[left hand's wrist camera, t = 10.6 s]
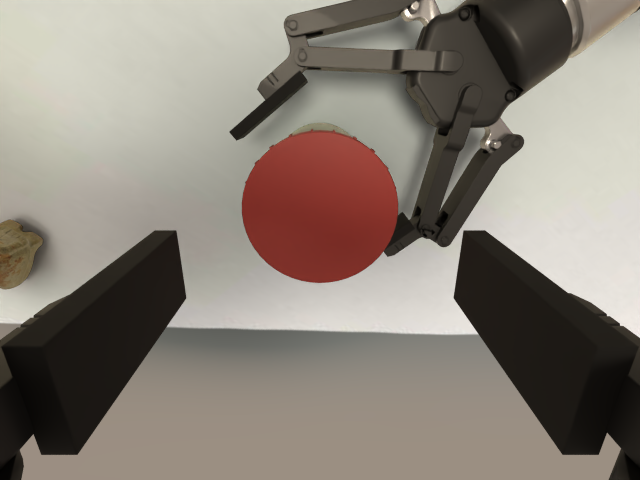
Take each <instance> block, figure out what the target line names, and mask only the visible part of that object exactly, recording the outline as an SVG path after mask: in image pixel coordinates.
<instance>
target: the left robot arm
mask: <svg viewBox="0 0 640 480" xmlns="http://www.w3.org/2000/svg"><path fill="white" fill-rule="evenodd" d="M185 299H186V292H185V286H184V279H183V272H182V265H181V259H180V252H179V245H178V238H177V232H176V231H154V232H152V233H151V234H150V235H148V236H147V237H146V238H144V239H143V240H142V241H140V242H139V243H138V244H136V245H135V246H134V247H133V248H131V249H130V250H129V251H127V252H126V253H125V254H123V255H122V256H121V257H119V258H118V259H117V260H115V261H114V262H113V263H111V264H110V265H109V266H107V267H106V268H105V269H103V270H102V271H101V272H99V273H98V274H97V275H95V276H94V277H93V278H91V279H90V280H89V281H87V282H86V283H85V284H83V285H82V286H81V287H79V288H78V289H77V290H76V291H74V292H73V293H72V294H70V295H68V296H66V297H64V298H61V299H59V300H57V301H55V302H53V303H51V304H49V305H47V306H46V307H45V308H43V309H42V310H41V311H39V312H38V313H37V314H35V315H34V318H30V319H28V320H27V321H26V322H24V323H23V324H21V327H20V328H16V329H15V330H13V331H12V332H11V333H9V334H8V335H6V336H5V337H4V338H2V339H1V340H0V480H21V478H22V473H23V467H24V465H23V458H22V455H21V453H20V449H21V447H22V446H23V445H24V444H25V443H26V442H27V441H28V439H29V438H30V437H31V436H32V435H33V434H34V436H35V439H36V442H37V444H38V447H39V450H40V452H41V455H77V454H78V453H79V452H80V450H81V449H82V447H83V446H84V444H85V443H86V442H87V440H88V439H89V437H90V436H91V434H92V433H93V432H94V430H95V429H96V427H97V426H98V424H99V423H100V421H101V420H102V419H103V417H104V416H105V414H106V413H107V411H108V410H109V409H110V407H111V406H112V404H113V403H114V401H115V400H116V398H117V397H118V396H119V394H120V393H121V391H122V390H123V388H124V387H125V386H126V384H127V383H128V381H129V380H130V378H131V377H132V375H133V374H134V373H135V371H136V370H137V368H138V367H139V365H140V364H141V363H142V361H143V360H144V358H145V357H146V355H147V354H148V352H149V351H150V350H151V348H152V347H153V345H154V344H155V342H156V341H157V340H158V338H159V337H160V335H161V334H162V332H163V331H164V330H165V328H166V327H167V325H168V324H169V322H170V321H171V319H172V318H173V317H174V315H175V314H176V312H177V311H178V309H179V308H180V307H181V305H182V304H183V302H184V301H185ZM454 299H455V301H456V302H457V304H458V305H459V307H460V308H461V309H462V311H463V312H464V314H465V315H466V317H467V318H468V319H469V321H470V322H471V324H472V325H473V327H474V328H475V330H476V331H477V332H478V334H479V335H480V337H481V338H482V340H483V341H484V342H485V344H486V345H487V347H488V348H489V350H490V351H491V352H492V354H493V355H494V357H495V358H496V360H497V361H498V363H499V364H500V365H501V367H502V368H503V370H504V371H505V373H506V374H507V375H508V377H509V378H510V380H511V381H512V383H513V384H514V385H515V387H516V388H517V390H518V391H519V393H520V394H521V396H522V397H523V398H524V400H525V401H526V403H527V404H528V406H529V407H530V409H531V410H532V411H533V413H534V414H535V416H536V417H537V419H538V420H539V421H540V423H541V424H542V426H543V427H544V429H545V430H546V431H547V433H548V434H549V436H550V437H551V439H552V440H553V441H554V443H555V444H556V446H557V447H558V449H559V450H560V452H561V453H562V454H563V455H599V452H600V450H601V447H602V444H603V442H604V439H605V436H606V434H607V433H608V434H609V435H610V436H611V437H612V438H613V440H614V441H615V442H616V443H617V444H618V445H619V446H620V448H621V450H620V453H619V455H618V458H617V460H616V463H615V466H614V468H613V470H612V473H611V475H610V478H609V480H640V338H639V337H638V336H636V335H635V334H633V333H632V332H631V331H629V330H628V329H627V328H625V327H624V326H620V323H618V322H617V321H616V320H614V319H613V318H611V317H610V316H607V314H606V313H604V312H603V311H602V310H600V309H599V308H598V307H596V306H595V305H593V304H592V303H590V302H588V301H586V300H584V299H582V298H580V297H578V296H575V295H573V294H571V293H567V292H566V291H564V290H563V289H562V288H561V287H559V286H558V285H557V284H555V283H554V282H553V281H551V280H550V279H549V278H547V277H546V276H545V275H543V274H542V273H541V272H539V271H538V270H537V269H535V268H534V267H533V266H531V265H530V264H529V263H527V262H526V261H525V260H523V259H522V258H521V257H519V256H518V255H517V254H515V253H514V252H513V251H511V250H510V249H509V248H507V247H506V246H505V245H503V244H502V243H501V242H500V241H498V240H497V239H496V238H494V237H493V236H492V235H490V234H489V233H488V232H486V231H464V232H463V238H462V245H461V252H460V259H459V265H458V272H457V279H456V286H455V292H454Z"/></svg>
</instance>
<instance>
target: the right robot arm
mask: <svg viewBox="0 0 640 480" xmlns="http://www.w3.org/2000/svg"><path fill="white" fill-rule="evenodd" d="M639 9H640V0H466V1H464V2H463V3H462V4H461V5H460V6H458V7H457V8H456V9H455V10H453V11H452V12H449V13H446V14H441V13H440V11H439V9H438V6H437V4H436V2H435V0H352V1H348V2H343V3H339V4H335V5H331V6H326V7H322V8H318V9H314V10H310V11H305V12H301V13H297V14H293V15H290V16H288V17H287V18H286V19H285V21H284V29H285V32H286V35H287V38H288V41H289V44H290V54H289V56H288V58H287V59H286V60H285V61H284V62H283V63H282V64H280V65H279V66H278V67H277V68H276V69H275V70H274V71H273V72H272V73H270V74H269V75H268V76H267V77H266V78H265V79H264V80H263V81H261V83H260V85H259V87H258V89H257V90H258V91H259V92H260V94H261V95H262V96H263V97H264V99H265V101H264V102H263V103H262V104H261V105H259V106H258V107H257V108H256V109H255V110H254V111H253V112H251V113H250V114H249V115H248V116H247V117H246V118H245V119H243V120H242V121H241V122H240V123H239V124H238V125H237V126H235V127H234V128H233V129H232V130H231V131H230V133H231V135H232V136H233V137H234V138H235V139H236V140H239V139H241V138H244V137H245V136H246V135H247V134H248V133H250V132H251V131H252V130H253V129H254V128H255V127H257V126H258V125H259V124H260V123H261V122H262V121H264V120H265V119H266V118H267V117H268V116H269V115H270V114H272V113H273V112H274V111H275V110H276V109H277V108H279V107H280V106H281V105H282V104H283V103H284V102H286V101H287V100H288V99H289V98H290V97H291V96H293V95H294V94H295V93H296V92H297V91H298V90H300V89H301V88H302V87H303V86H304V85H305V84H306V83H308V81H307V79H306V78H305V77H304V75H303V74H302V73H303V72H304V71H305V70H325V71H349V72H372V73H388V74H404V75H407V76H406V85H407V88H406V90H407V92H408V94H409V95H410V97H411V98H412V99H413V100H414V101H416V102H417V103H418V104H419V106H420V109H421V112H422V115H423V117H424V118H425V120H426V121H427V123H430V124H431V125H433V126H435V127H437V129H436V133H435V136H434V140H433V144H434V145H433V149H432V152H431V156H430V159H429V162H428V165H427V169H426V172H425V175H424V178H423V181H422V185H421V188H420V191H419V194H418V198H417V201H416V204H415V207H414V211H413V214H412V217H411V219H410V220H408V218H407V217H406V216H405V214H404V213H403V212H402V213H400V214H399V215H398V216H397V223H396V226H395V230H394V233H393V235H392V237H391V240H390V242H389V243H388V245H387V247H386V248H385V250H384V253H385V254H386V255H387V257H389V256H392V255H395V254H396V253H398V252H399V251H401V250H402V249H404V248H405V247H407V246H408V245H409V244H411V243H412V242H414V241H415V240H417V239H418V238H421V237H423V238H426V239H431V240H433V241H434V242H436V243H437V244H438V245H439V246H441V247H447V246H449V245H450V244H451V242H452V241H453V239H454V238H455V236H456V235H457V233H458V232H459V230H460V228H461V227H462V225H463V224H464V222H465V221H466V219H467V218H468V216H469V215H470V213H471V211H472V210H473V208H474V207H475V205H476V204H477V202H478V201H479V199H480V198H481V196H482V194H483V193H484V191H485V190H486V188H487V187H488V185H489V184H490V182H491V181H492V179H493V177H494V176H495V174H496V173H497V171H498V170H499V168H500V167H501V165H502V164H504V163H505V162H506V161H507V160H508V159H509V158H511V157H512V156H513V155H514V154H515V153H516V152H518V151H519V150H520V149H521V148H522V147H523V144H524V139H523V137H522V136H521V135H516V134H513V133H512V132H511V131H510V130H509V129H508V127H507V126H506V125H505V123H504V122H503V121H502V119H501V118H500V117H501V115H502V113H503V111H504V110H505V109H506V107H507V106H508V105H509V104H510V103H512V102H513V101H515V100H516V99H518V98H519V97H520V96H522V95H523V94H524V93H526V92H527V91H529V90H530V89H531V88H533V87H534V86H535V85H537V84H538V83H539V82H541V81H542V80H544V79H545V78H546V77H548V76H549V75H550V74H552V73H553V72H554V71H556V70H557V69H559V68H560V67H561V66H563V65H564V63H565V62H566V61H567V59H568V58H573V57H575V56H576V55H578V54H580V53H581V52H582V51H584V50H585V49H586V48H588V47H589V46H590V45H592V44H593V43H594V42H596V41H597V40H598V39H600V38H601V37H602V36H604V35H605V34H606V33H608V32H609V31H610V30H612V29H613V28H614V27H616V26H617V25H618V24H620V23H621V22H622V21H624V20H625V19H626V18H628V17H629V16H630V15H632V14H633V13H635V12H636V11H638V10H639ZM399 15H401V17H402V18H403V20H405V21H407V22H411V21H414V20H418V21H421V22H422V23H423V25H424V27H423V29H422V31H421V34H420V36H419V39H418V42H417V45H416V48H415V50H377V49H354V48H331V47H309V45H308V42H307V39H311V38H315V37H320V36H324V35H328V34H333V33H337V32H341V31H346V30H350V29H354V28H359V27H363V26H367V25H371V24H376V23H380V22H384V21H388V20H391V19H393V18H396V17H398V16H399ZM481 127H484V128H485V135H484V137H483V138H482V139H481V141H480V147H481V148H480V149H479V150H478V151H477V153H476V154H475V155H474V157H473V158H472V159H471V161H470V163H469V164H468V166H467V168H466V169H465V171H464V172H463V174H462V176H461V177H460V179H459V181H458V182H457V184H456V185H455V187H454V189H453V190H452V192H451V194H450V195H449V197H448V199H447V200H446V202H445V203H444V205H443V207H442V208H441V205H442V202H443V199H444V196H445V193H446V190H447V187H448V184H449V181H450V178H451V175H452V172H453V169H454V166H455V163H456V160H457V157H458V154H459V152H460V151H461V150H462V148H463V147H464V144H465V141H466V138H467V135H468V132H469V129H470V128H481ZM440 208H441V210H440ZM439 210H440V212H439Z"/></svg>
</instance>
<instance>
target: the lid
mask: <svg viewBox="0 0 640 480" xmlns="http://www.w3.org/2000/svg"><path fill="white" fill-rule="evenodd" d="M269 148H270V150H269V151H268V152H266V153H265V154H264V155H263V156H262V157H261V158H260V160H258V161H257V162H256V163H255V166H254V168H253V170H252V171H251V173H250V175H249V177H248V179H247V181H246V182H245V183H246V185H245V188H244V192H243V199H242V216H243V223H244V226H245V230H246V233H247V235H248V237H249V240H250V242H251V243H252V245H253V247H254V248H255V250H256V251H257V252H258V254H259V255H260V256H261V257H262V258H263V259H264V260H265V261H266V262H267V263H268V264H269V265H270V266H272V267H273V268H274V269H276V270H277V271H279V272H281V273H283V274H285V275H287V276H289V277H291V278H294V279H298V280H301V281H306V282H314V283H326V282H334V281H339V280H342V279H346V278H349V277H351V276H353V275H356V274H357V273H359V272H361V271H363V270H364V269H366V268H367V267H368V266H370V265H371V264H372V263H373V262H374V261H375V260H376V259H377V258H378V257H379V256H380V255H381V254H382V252H383V251H384V250H385V248H386V247H387V245H388V243H389V242H390V240H391V237H392V235H393V233H394V230H395V226H396V223H397V216H398V199H397V192H396V187H395V185H394V182H393V179H392V177H391V175H390V173H389V171H388V167H387V166H386V165H384V163H383V162H382V161H381V160H380V158H379V157H378V156H377V155H376V154H375V151H374V150H373V149H372V148H371V149H369V148H368V147H367V146H365V145H364V144H363V143H361V142H360V141H358V140H357V138H356V137H354V136H353V138H352V137H351V136H348V135H345V134H342V133H339V132H336V131H335V130H333V131H328V130H313V129H311V131H306V132H301V133H298V134H295V135H292V134H290V135H289V137H288V138H286V139H284V140H282V141H280V142H279V143H277V144H276V145H275V146H274V145H272V146H271V147H269Z"/></svg>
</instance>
